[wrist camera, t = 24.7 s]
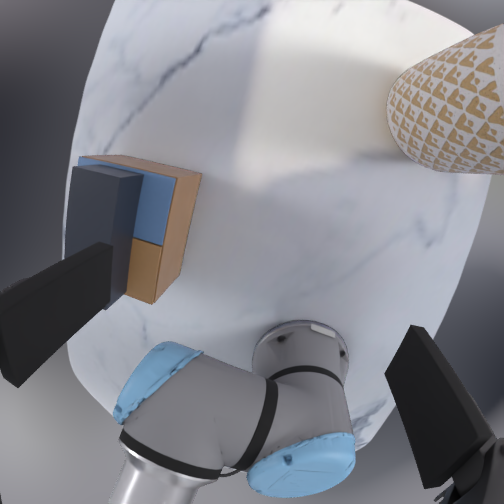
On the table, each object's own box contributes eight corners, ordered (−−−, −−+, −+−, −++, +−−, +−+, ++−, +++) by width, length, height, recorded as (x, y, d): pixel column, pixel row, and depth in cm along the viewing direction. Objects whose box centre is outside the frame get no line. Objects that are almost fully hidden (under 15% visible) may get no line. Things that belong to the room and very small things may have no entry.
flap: (80, 156, 29) (78, 156, 29) (176, 178, 29) (175, 178, 29) (72, 215, 32) (71, 216, 31) (162, 244, 31) (161, 245, 31)
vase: (383, 171, 36) (575, 212, 7) (368, 73, 32) (503, -52, 3) (464, 169, 34) (639, 207, 5) (451, 79, 30) (607, 27, 1)
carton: (120, 154, 39) (78, 155, 29) (202, 173, 39) (175, 178, 29) (106, 249, 43) (67, 271, 34) (179, 274, 43) (152, 305, 33)
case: (126, 291, 33) (105, 310, 29) (87, 276, 33) (64, 291, 29) (144, 174, 29) (120, 177, 24) (99, 164, 29) (72, 166, 24)
